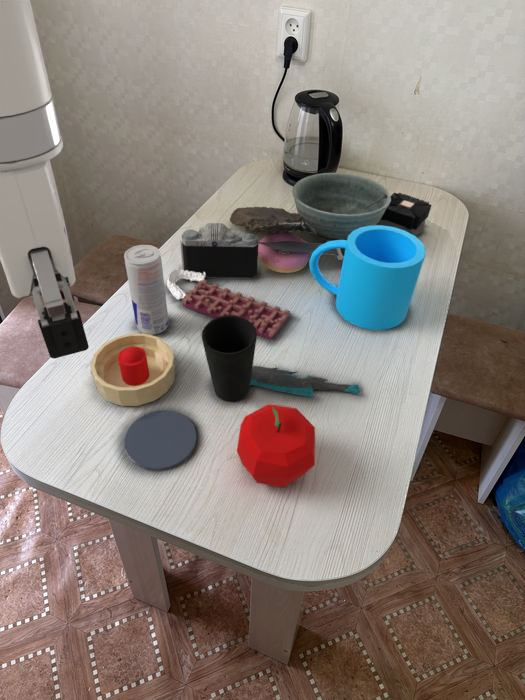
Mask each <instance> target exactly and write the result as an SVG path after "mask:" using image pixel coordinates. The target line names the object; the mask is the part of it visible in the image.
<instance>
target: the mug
mask: <svg viewBox="0 0 525 700" xmlns="http://www.w3.org/2000/svg"><path fill="white" fill-rule="evenodd" d="M321 244H322V245H320V246H319V247H318V248H317V249H316V250H314V251H313V253H311V254H310V258H309V260H308V263H309V271H310V273H311V275H312V277H313V279H314V280H315V281H316V282H317V284H318V285H319V286H320V287H321V288H323V289H324V290H326V291H327V292H328V293H330V294H332V295H334V296H335V295H336V299H335V306H336V310H337V312H338V313H339V315H340V316H341V317H342V318H343V319H344V320H345V321H346V322H348V323H349V324H352V325H354V326H357V327H359V328H361V329H368V330H373V331H385V330H389V329H393V328H396V327H398V326H399V325H401V324H402V323H403V322H404V320H405V319H406V317H407V316H408V311H409V309H410V305H411V302H412V299H413V295H414V293H415V291H416V290H415V289H416V287H417V283H418V279H419V277H420V273H421V270H422V267H423V265H424V261H425V258H426V247H425V245H424V243H423V242H422V240H420V239H419V238H418V237H417V236H416V235H415V236H414V235H412V234H410V233H408V232H406V231H404V230H401V229H398V228H395V227H389V226H383V225H380V224H379V225H377V224H376V225H371V226H365V227H360V228H358V229H356V230H354V231H352V233H351V234H350V235H349V236H348V238H347V240H335V241H327V242H325V243H321ZM337 248H345V254H344V256H343V257H344V260H342V266H341V271H340V277H339V282H338V286H337V285H335V284H333V283H332V282H331V281H329V280H328V279H327V278H326V277H325V276H324V275H323V274H322V272H321V270H320V268H319V260H320V257H321V256H322V255H324V254H323V253H324V252H325V251H328V250H330V249H337Z"/></svg>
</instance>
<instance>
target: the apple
mask: <svg viewBox="0 0 525 700" xmlns="http://www.w3.org/2000/svg"><path fill="white" fill-rule="evenodd" d="M273 400H274V399H272V404H271V403H267V404H265V405H264V406H262V407H260V408H259V409H256V410H255V411H253V412H250V413H249V414H247V415H244V417H243V420H242V422H241V423H240V425H239V432H238V433H239V434H238V440H237V446H236V452H237V455H238V458H239V460H240V462H241V465H242V466H243V467H244V469H245V470H246V471H247V472H248V474H249V475H250V476H251V477H252V479H253V480H254V482H256V484H260V485H267V486H273V487H280V488H286V487H287V486H288V485H290V484H292V483H294V482H295V481H296V480H298V479H300V478H301V477H303V476H305V475H306V474H307V473H308V472H309V471H311V469H312V468H313V467H314V466H315V465H316V462H315V461H316V427H315V425H313V423H311V422H310V421H309V419H307V417H306V416H305V415H303V413H302V412H301V411H300V410H298V408H296V407H291V406H284V405H277V404H274V403H273Z"/></svg>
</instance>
